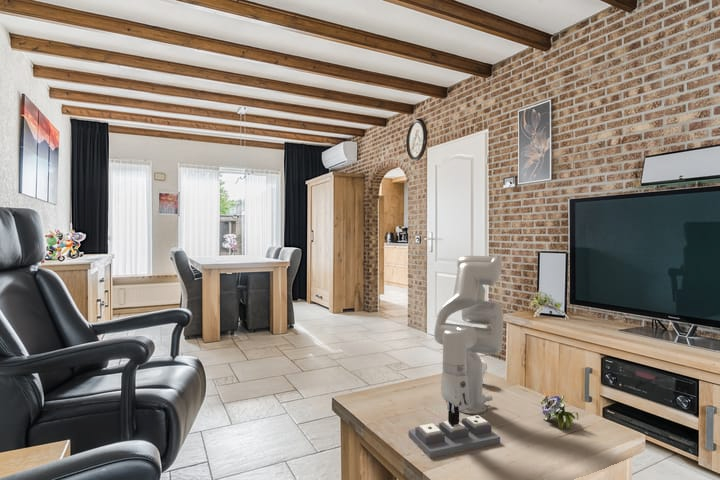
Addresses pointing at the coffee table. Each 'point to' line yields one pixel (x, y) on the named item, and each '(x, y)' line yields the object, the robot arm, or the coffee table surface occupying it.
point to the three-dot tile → (453, 426)
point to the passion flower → (557, 410)
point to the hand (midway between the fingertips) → (453, 423)
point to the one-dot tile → (429, 429)
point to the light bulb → (484, 368)
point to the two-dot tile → (476, 420)
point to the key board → (454, 439)
